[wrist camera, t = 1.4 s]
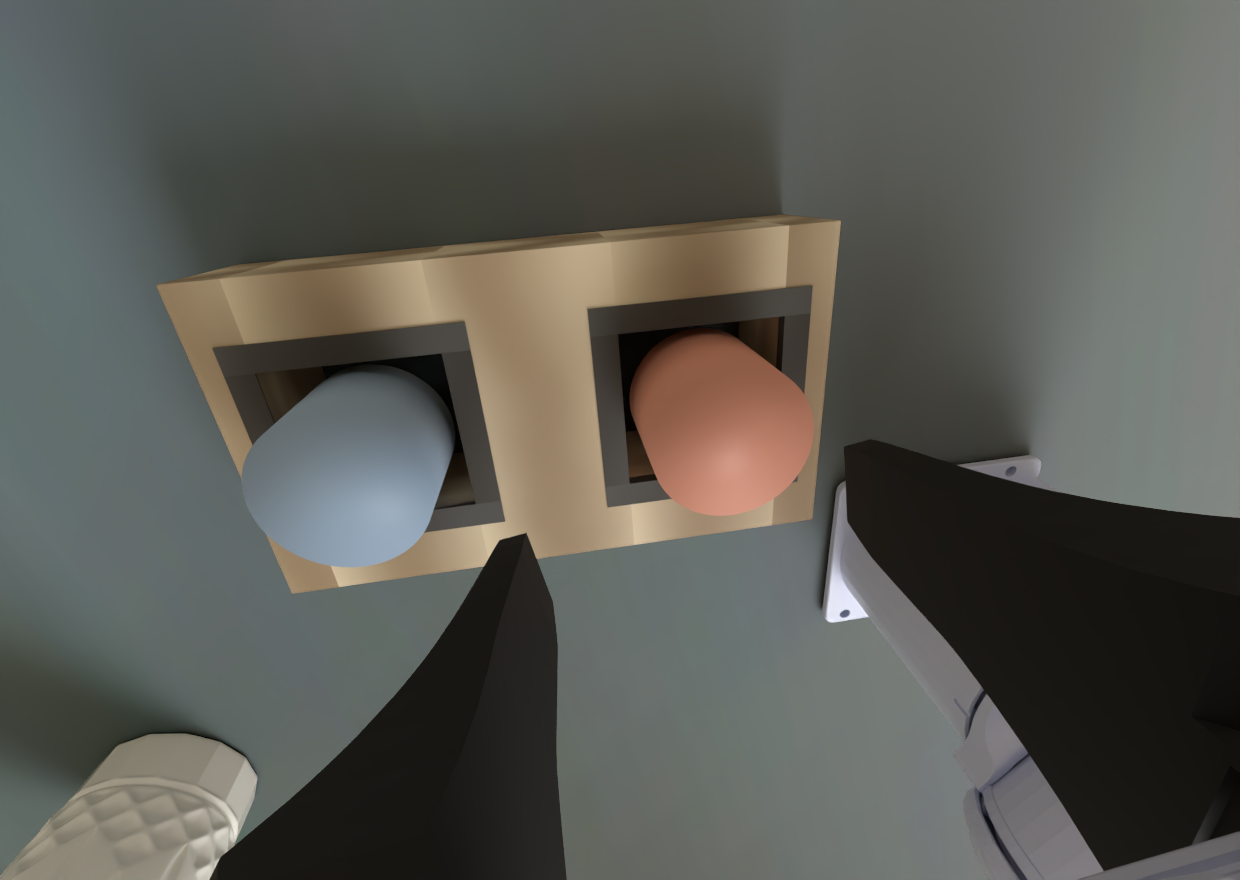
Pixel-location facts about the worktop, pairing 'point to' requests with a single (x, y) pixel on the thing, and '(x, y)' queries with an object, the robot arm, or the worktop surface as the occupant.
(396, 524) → the blue peg
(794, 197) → the worktop surface
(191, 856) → the white cup
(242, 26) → the worktop surface
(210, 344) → the peg block
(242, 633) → the worktop surface
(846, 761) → the worktop surface
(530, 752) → the robot arm
